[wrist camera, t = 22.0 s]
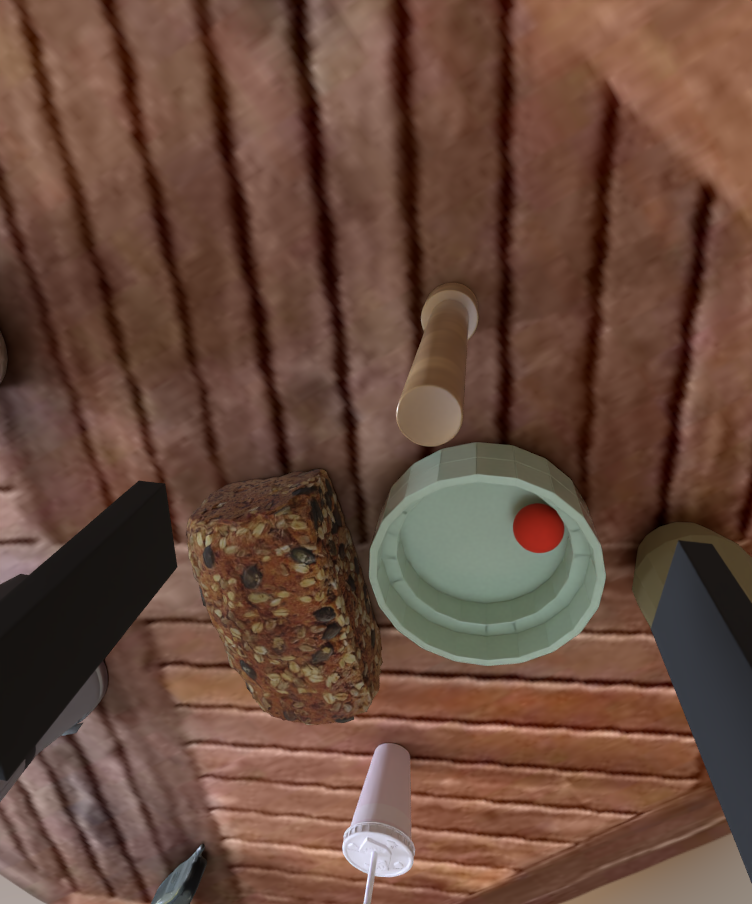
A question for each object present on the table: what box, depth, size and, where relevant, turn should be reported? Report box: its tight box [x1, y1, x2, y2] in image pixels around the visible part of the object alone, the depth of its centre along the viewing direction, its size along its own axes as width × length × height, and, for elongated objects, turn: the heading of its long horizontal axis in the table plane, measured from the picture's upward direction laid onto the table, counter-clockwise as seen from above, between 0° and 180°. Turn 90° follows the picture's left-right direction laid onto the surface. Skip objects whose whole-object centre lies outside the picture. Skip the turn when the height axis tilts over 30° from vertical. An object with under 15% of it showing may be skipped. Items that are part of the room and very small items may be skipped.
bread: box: [186, 469, 383, 725], centre depth 45 cm, size 19×11×10 cm, turn 14°
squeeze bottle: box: [632, 522, 752, 627], centre depth 35 cm, size 8×8×18 cm
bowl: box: [369, 442, 606, 666], centre depth 42 cm, size 16×16×6 cm
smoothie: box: [342, 743, 415, 904], centre depth 51 cm, size 6×6×14 cm
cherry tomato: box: [513, 503, 564, 553], centre depth 41 cm, size 4×4×4 cm
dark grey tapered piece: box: [151, 844, 207, 904], centre depth 71 cm, size 5×3×15 cm
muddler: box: [396, 283, 479, 447], centre depth 29 cm, size 4×4×20 cm
